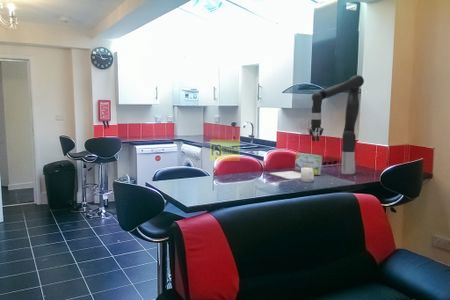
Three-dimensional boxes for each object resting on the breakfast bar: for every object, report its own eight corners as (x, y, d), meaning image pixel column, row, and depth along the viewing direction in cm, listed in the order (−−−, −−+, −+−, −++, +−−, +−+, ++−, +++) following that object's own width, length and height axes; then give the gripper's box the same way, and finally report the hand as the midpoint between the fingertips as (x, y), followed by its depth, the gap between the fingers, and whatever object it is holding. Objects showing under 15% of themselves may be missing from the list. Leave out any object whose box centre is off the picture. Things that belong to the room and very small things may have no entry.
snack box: (293, 171, 291) (295, 152, 291) (297, 171, 295) (300, 153, 295) (316, 175, 275) (319, 155, 275) (320, 175, 279) (323, 155, 279)
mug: (307, 179, 263) (307, 166, 262) (317, 182, 253) (317, 169, 252) (298, 180, 259) (298, 167, 258) (308, 183, 250) (308, 170, 249)
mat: (292, 171, 295) (292, 171, 295) (313, 177, 272) (313, 176, 272) (269, 173, 285) (269, 173, 285) (289, 179, 262) (289, 178, 262)
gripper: (312, 119, 277) (311, 142, 279) (326, 118, 284) (325, 141, 285) (305, 118, 284) (305, 141, 286) (320, 118, 290) (319, 140, 292)
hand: (315, 141), depth 286 cm, fingers open, 3 cm apart
